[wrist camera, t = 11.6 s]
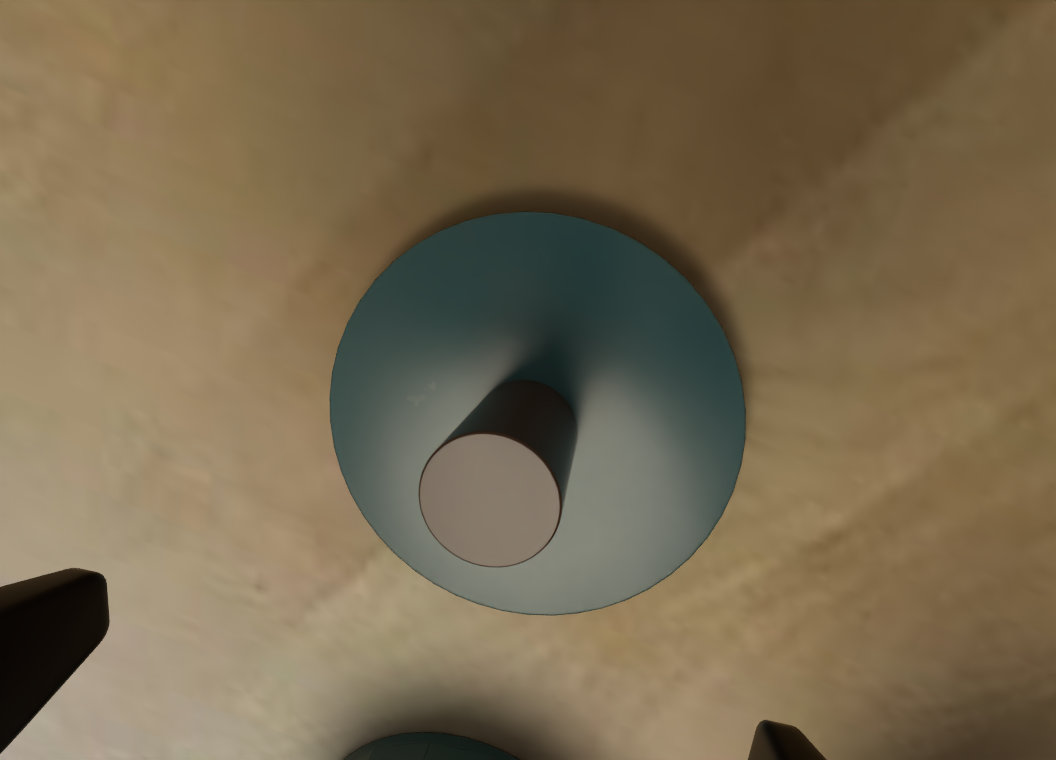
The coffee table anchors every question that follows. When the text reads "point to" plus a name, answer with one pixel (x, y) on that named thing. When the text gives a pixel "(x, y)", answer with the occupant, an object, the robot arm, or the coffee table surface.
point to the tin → (428, 748)
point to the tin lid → (537, 413)
